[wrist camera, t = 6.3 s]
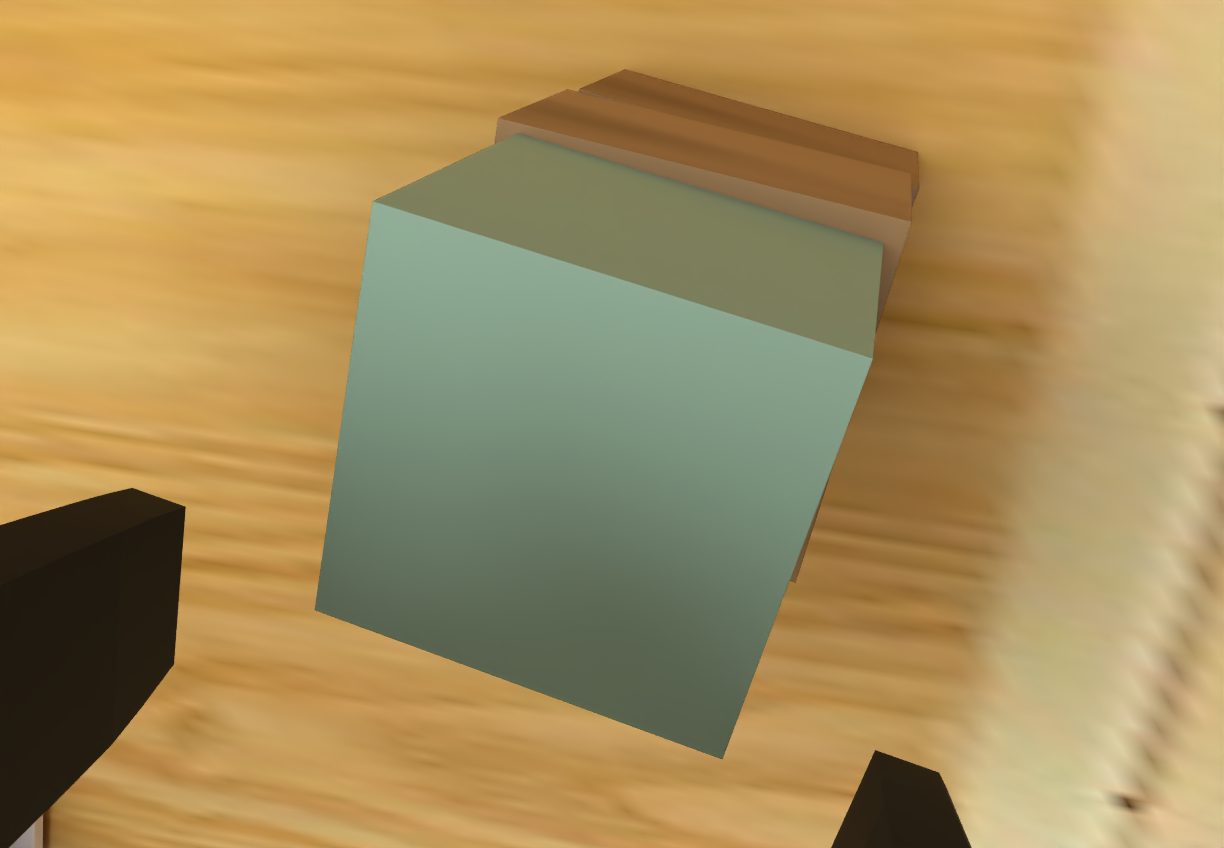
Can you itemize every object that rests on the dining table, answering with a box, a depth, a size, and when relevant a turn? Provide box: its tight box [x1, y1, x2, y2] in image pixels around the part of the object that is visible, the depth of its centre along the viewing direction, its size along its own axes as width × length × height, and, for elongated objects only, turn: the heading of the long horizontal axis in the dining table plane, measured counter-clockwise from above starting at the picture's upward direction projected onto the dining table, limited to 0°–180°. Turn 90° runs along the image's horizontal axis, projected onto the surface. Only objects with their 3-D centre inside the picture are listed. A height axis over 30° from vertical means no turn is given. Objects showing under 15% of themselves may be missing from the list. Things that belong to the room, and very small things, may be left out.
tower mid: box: [495, 89, 912, 583], centre depth 15 cm, size 5×5×3 cm
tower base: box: [579, 70, 919, 209], centre depth 18 cm, size 5×5×3 cm
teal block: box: [315, 133, 883, 759], centre depth 12 cm, size 4×4×4 cm
